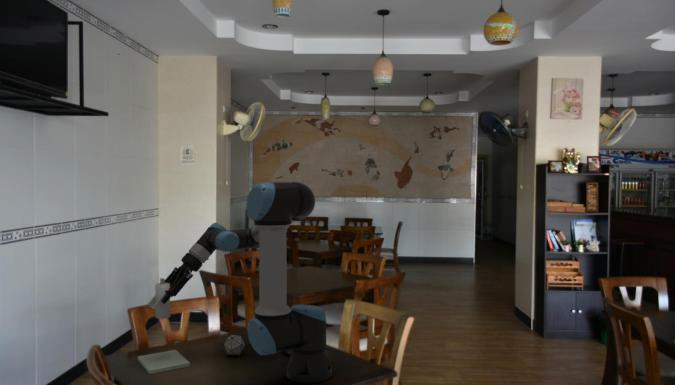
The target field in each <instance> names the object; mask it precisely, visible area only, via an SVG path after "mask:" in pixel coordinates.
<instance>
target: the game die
mask: <svg viewBox="0 0 675 385" xmlns="http://www.w3.org/2000/svg"><path fill="white" fill-rule="evenodd" d="M242 336H243V333H241V334H240V335H239V334H238V335H237V334H231V333H228V337H227V338H226V340H225V341H224V343H221V345H223V347H224V349H225V351H226V357H228V356H231V355H232V356H233V355H234V356H238V357H239V358H240V357H241V353H242V351H243V350H244V348H245V347H248V346H247V344H245V342H244V339H243V337H242Z"/></svg>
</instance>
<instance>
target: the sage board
mask: <svg viewBox="0 0 675 385" xmlns="http://www.w3.org/2000/svg"><path fill="white" fill-rule="evenodd" d="M137 361H138V363H139V364H140V365H141V366H142V367H143V368H144V370H145V371H146V372H147V374H148V375H152V374H158V373H162V372H167V371H173V370H177V369H183V368H187V367H188V368H189V367H190V366H191V362H190V361H189V360H188V359H187V358H185V356H183V355H182V354H181V353H180V352H179V351H178V350H176V349H172V350H167V351H166V350H165V351H163V352H162V351H161V352H156V353H155V352H154V353H149V354H145V355H138V356H137Z"/></svg>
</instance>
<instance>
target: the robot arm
mask: <svg viewBox="0 0 675 385" xmlns="http://www.w3.org/2000/svg"><path fill="white" fill-rule="evenodd" d="M246 198H247V199H246V213H247V215H248V217H249V219H250V220H252V221H254V222H253V223H254V224H253V226H252V227H251V228H242V229H229V230H227V228H225V226H223V225H222V224H221V223H219V222H213V223H211V225H210V226H209V227H207V228H206V230H205V231H204V232H203V234H202V235H201V236H200V237H199V239H197V241H196V242H194V243H193V245H192V246H191V247H190V249H189V250H188V252H186V253H185V255H184V256H182V258H181V259H180V261H181V262H182V264H181V265H180V266H178V267H177V266H176V267H174V268H173V270H172V271H171V273H170V274H168V276H167V277H166V278H164V279H165V283H170V288H169V290H168V291H165V292H166V293H167V294H166V293H164V294H163V295H162V296H161V297H160V299H159V300H158V301H157V302H156V297H155V295H154V296H153V297H152V298H151V299H150V300H149V302H148V303H147V304H146V305H147V306H148V307H149V308H151V309H152V310H155V312H156V311H157V312H159V311H160V310H161V308H162V307H163V306H164V305H165V304H166V303H167V301H168V300H169V299H170V300H171V298H173V297H176V296H177V295H178V294H179V293H180V292H181V290H182V289H183V288H184V286H185V285H186V284H188V282H189V281H190V280H191V279H192V278H193V277H194V274H193V272H195V273H197V272H198V271H199V270H200V269H201V268H202V266H203V264H205V263H206V261H209V259H210V257H211V256H212V255H213V253H214V252H215V251H216V250H217V251H221V252H224V253H226V252H227V253H231V252H234V251H237V250H245V249H247V250H249V249H258V257H259V258H258V261H259V262H258V264H259V268H258V270H259V271H258V274H259V275H258V276H259V280H258V281H259V284H258V285H259V292H258V293H259V305H258V306H257V307H256V308H255V310H254V317H253V318H252V319H250V320H248V324H247V327H246V328H247V337H248V340H249V343H250V345H251V347H252V349H253V350H254V351H255V352H256V353H257V354H258V355H260V356H267V355H275V354H277V353H281V352H286V350H290V349H292V354H291V355H290V358H289V361H288V365H287V367H286V377H287V379H288V380H290V381H292V382H295V383H302V384H313V383H319V382H320V383H321V382H324V381H326V380H328V379H330V378H332V376H333V366H332V364H331V361H330V358H329V355H328V352H327V313H326V311H325V309H324V308H323V307H321V306H318V305H312V304H293V305H292V306H291V307H289V305H288V303H287V299H288V298H287V296H288V293H287V292H288V291H287V276H288V275H287V272H288V271H287V270H288V269H287V265H288V264H287V230H288V229H289V227H291V226H292V224H293V223H295V222H301V221H303V220H304V219H306V218H308V217H309V216H310V215H311V214H312V212H313V211H314V209H315V206H316V198H315V195H314V192H313V190H312V189H311V188H310V187H309V186H308V185H306V183H305V184H304V183H302V182H297V181H293V182H292V181H291V182H290V181H288V182H287V181H286V182H285V181H284V182H282V181H281V182H279V181H278V182H277V181H276V182H275V181H274V182H273V181H272V182H271V181H268V182H258V183H256V184H254V185H253V186H252V188H251V189H250V191H249V192H248V195H247V197H246Z"/></svg>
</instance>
